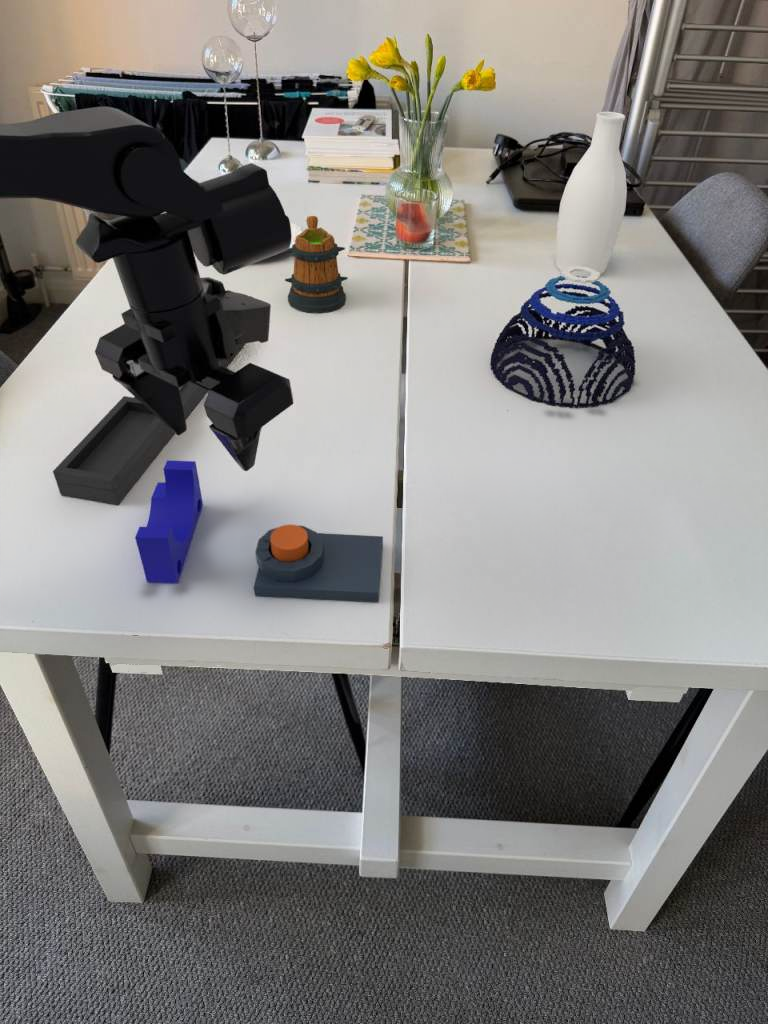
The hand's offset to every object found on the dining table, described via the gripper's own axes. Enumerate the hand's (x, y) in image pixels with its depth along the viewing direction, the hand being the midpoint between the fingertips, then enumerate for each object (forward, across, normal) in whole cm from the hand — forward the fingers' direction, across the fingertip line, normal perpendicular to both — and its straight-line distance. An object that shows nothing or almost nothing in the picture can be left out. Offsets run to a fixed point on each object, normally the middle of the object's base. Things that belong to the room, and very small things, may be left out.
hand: (214, 449), depth 67 cm
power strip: (+14, +27, -12) cm, 32 cm away
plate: (+18, +61, -58) cm, 86 cm away
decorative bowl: (+20, -8, -54) cm, 59 cm away
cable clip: (+12, +6, +4) cm, 15 cm away
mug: (+18, +35, -49) cm, 63 cm away
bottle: (+24, +8, -90) cm, 94 cm away
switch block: (+14, -9, -2) cm, 16 cm away
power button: (+11, -6, -1) cm, 12 cm away
